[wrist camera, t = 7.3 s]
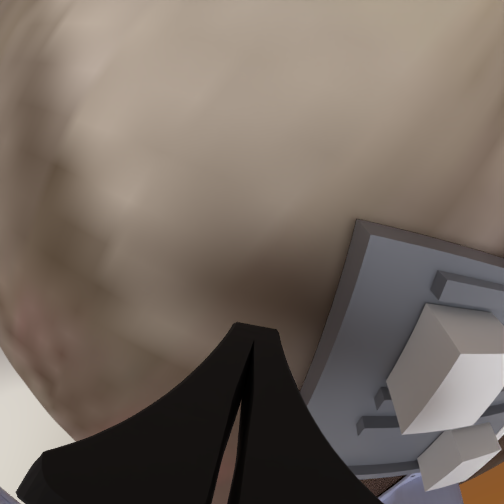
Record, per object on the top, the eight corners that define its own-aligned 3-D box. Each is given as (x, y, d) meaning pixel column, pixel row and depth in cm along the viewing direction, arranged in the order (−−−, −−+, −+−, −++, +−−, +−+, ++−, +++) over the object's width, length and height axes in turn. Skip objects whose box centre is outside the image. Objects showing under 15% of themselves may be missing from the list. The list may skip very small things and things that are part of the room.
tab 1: (451, 381, 10) (472, 425, 7) (386, 380, 10) (401, 434, 8) (491, 312, 9) (526, 352, 6) (425, 303, 9) (460, 353, 6)
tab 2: (456, 451, 13) (465, 480, 10) (417, 458, 13) (424, 491, 10) (487, 418, 11) (501, 449, 8) (449, 425, 11) (462, 462, 9)
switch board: (480, 436, 15) (489, 457, 12) (274, 448, 16) (271, 480, 14) (576, 284, 9) (597, 302, 7) (356, 218, 10) (377, 242, 8)
